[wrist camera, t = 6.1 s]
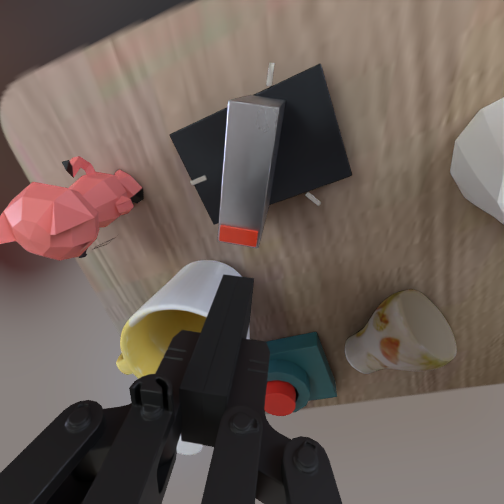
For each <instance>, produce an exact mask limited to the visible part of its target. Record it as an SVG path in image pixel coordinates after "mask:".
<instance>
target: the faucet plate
mask: <svg viewBox="0 0 504 504" xmlns="http://www.w3.org/2000/svg"><path fill="white" fill-rule="evenodd" d="M274 65H275V63H269V69H268V76H267V84H266V86H270V87H269V88H267V89H265V90H263V91H261V92H259V93H256V94H254V95H253V96H260V97H267V98H274V99H281V100H285V101H286V102H285V108H284V115H283V121H282V127H281V134H280V140H279V146H278V153H277V159H276V165H275V172H274V178H273V184H272V191H271V197H270V203H269V205H271V204H274V203H277V202H279V201H282V200H285V199H288V198H291V197H293V196H296V195H299V194H302V193H305V192H307V193H306V194H305V196H306V197H308V198H309V199H310V200H311V201H313V202H314V203H315V204H316V205H318V206H319V205H320V204H321V202H320V201H319V200H318V199H317V198H315V197H314V196H313V195H312V194H311V193H309V192H308V191H310V190H313V189H316V188H319V187H322V186H324V185H327V184H330V183H333V182H336V181H339V180H341V179H344V178H347V177H350V176H352V172H351V169H350V165H349V162H348V158H347V155H346V151H345V148H344V144H343V140H342V137H341V133H340V130H339V126H338V123H337V119H336V116H335V112H334V109H333V105H332V102H331V98H330V94H329V91H328V87H327V84H326V80H325V77H324V73H323V70H322V66H321V64H318V65H316V66H314V67H312V68H309V69H307V70H305V71H303V72H301V73H299V74H297V75H295V76H292V77H290V78H288V79H286V80H284V81H282V82H280V83H278V84H276V85H273V86H272V80H273V72H274ZM227 111H228V107H227V108H225V109H223V110H220V111H218V112H216V113H214V114H212V115H210V116H208V117H206V118H203V119H201V120H199V121H197V122H195V123H193V124H191V125H189V126H186V127H184V128H182V129H180V130H178V131H176V132H174V133H172V134H170V137H171V139H172V141H173V143H174V145H175V147H176V149H177V151H178V153H179V155H180V157H181V159H182V161H183V163H184V165H185V167H186V169H187V171H188V174H189V176H190V178H191V180H192V181H190V182H191V184H192V185H194V186H195V188H196V190H197V192H198V194H199V196H200V198H201V200H202V202H203V204H204V206H205V208H206V210H207V212H208V214H209V216H210V218H211V220H212V222H213V224H217V223H219V214H220V201H221V188H222V175H223V163H224V150H225V137H226V124H227Z"/></svg>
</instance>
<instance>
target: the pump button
mask: <svg viewBox="0 0 504 504" xmlns="http://www.w3.org/2000/svg"><path fill="white" fill-rule="evenodd" d="M295 404H296V391H295V388H294V387H293V385H291V384H290V383H288V382H285V381H280V380H274V381H268V382H267V388H266V397H265V407H264V410H265V411H266V412H268V413H270V414H272V415H276V416H286V415H288V414H291V413H292V412H293V411H294V410H295Z"/></svg>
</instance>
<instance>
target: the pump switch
mask: <svg viewBox="0 0 504 504" xmlns="http://www.w3.org/2000/svg"><path fill="white" fill-rule="evenodd" d="M266 343H267V345H268V348H269V350H270V359H269V369H268V378H267V382H268V381H274V380H280V381H285V382H288V383H290V384H291V385H293V387H294V388H295V391H296V404H295V410H294V411H293V412H296V411H298V410H300V409H301V408H303V407H304V406H306V405H307V402H308V401H310V400H317V399H325V398H332V397H337V392H336V383H335V379H334V377H333V374H332V371H331V369H330V366H329V363H328V361H327V358H326V355H325V353H324V350H323V348H322V345H321V342H320V340H319V337H318V334H317V332H312V333H307V334H302V335H297V336H292V337H287V338H282V339H277V340H272V341H267V342H266Z"/></svg>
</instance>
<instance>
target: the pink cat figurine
mask: <svg viewBox="0 0 504 504" xmlns="http://www.w3.org/2000/svg"><path fill="white" fill-rule="evenodd" d="M62 164H63V165H64V167H65V169H66V171H67V172H68V173H69V174H70V175H71V176H72V177H73V178H74V176H75V175H76V173H77V172H78V170H79V169H80V167H81V168H82V169H84V170H85V172H86V174H87V175H83V176H81V177H80V178H79V179H78V180H77V181H76V182H75V183H74V184H72V185H71V186H70V187H69V188H64V187H59V186H53V185H48V184H42V183H37V182H32V183H31V184H30V185H29V186H27V187H26V188H25V189H24V190H23V191H22V192H21V193H20V194H19V195H17V196H16V197H15V198H14V199H13V200H12V201H11V202H10V203H9V205H8V206H7V208H6V209H5V210H4V212H3V213H2V215H1V216H0V244H2V243H7V242H12V241H17V242H18V243H19V244H20V245H21V246H22V247H23V248H24V249H26V250H27V251H29V252H31V253H33V254H37V255H41V256H44V257H48V258H52V259H56V260H64V259H69V258H74V257H78V256H79V258H82V257H86V255H87V254H86V251H87V248H88V247H89V246H90V245H91V244H92V243H93V242H94V241H95V240H96V239H97V235H98V232H99V228H100V227H106V226H108V225H109V224H110V223H111V222H113V221H114V220H115V219H117V218H118V217H119V216H121V215H124V214H127V213H129V212H130V211H131V210H132V208H133V207H134V206H133V204H132V202H134V203H138V202H140V201H142V200H143V199H144V198H143V188H142V187H141V186H140V185H139V184H138V183H137V182H136V181H135V180H134V179H133V178H132V177H131V176H130V175H129V174H127V173H125V172H123V171H121V170H120V169H119V170H118V171H117V172H115V175H111V174H105V173H99V172H95V170H94V169H93V167H92V165H91V164H90V163H89V162H87V161H86V160H84V159H83V158H81V157H80V156H78V157H74V158H72V159H71V161H69V160H67V161H63V162H62ZM116 237H117V236H116ZM116 237H115V238H116ZM113 239H114V238H113ZM111 240H112V239H111ZM109 241H110V240H109ZM107 242H108V241H107ZM110 242H111V241H110ZM110 242H109V243H110ZM105 243H106V242H105ZM100 245H101V244H100ZM105 245H106V244H105ZM98 246H99V245H98ZM102 246H104V245H102ZM96 247H97V246H96ZM100 247H101V246H100ZM97 248H98V247H97ZM94 249H95V247H94ZM92 250H93V249H92Z"/></svg>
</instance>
